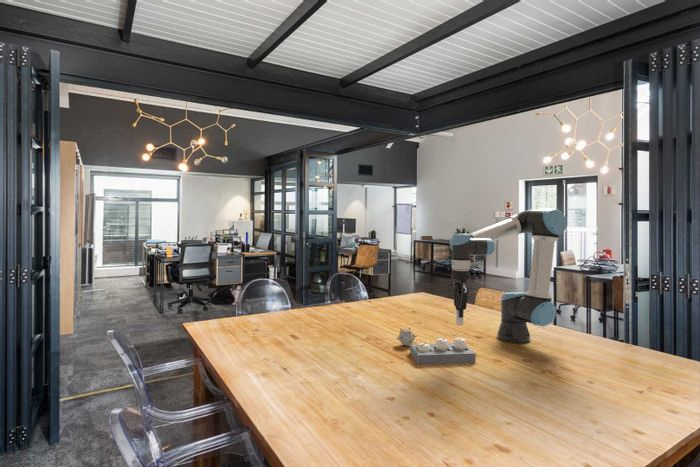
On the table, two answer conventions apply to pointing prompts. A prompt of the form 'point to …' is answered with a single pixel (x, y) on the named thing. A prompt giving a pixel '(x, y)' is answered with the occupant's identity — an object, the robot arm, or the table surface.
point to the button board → (442, 355)
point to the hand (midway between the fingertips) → (459, 324)
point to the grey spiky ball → (406, 337)
